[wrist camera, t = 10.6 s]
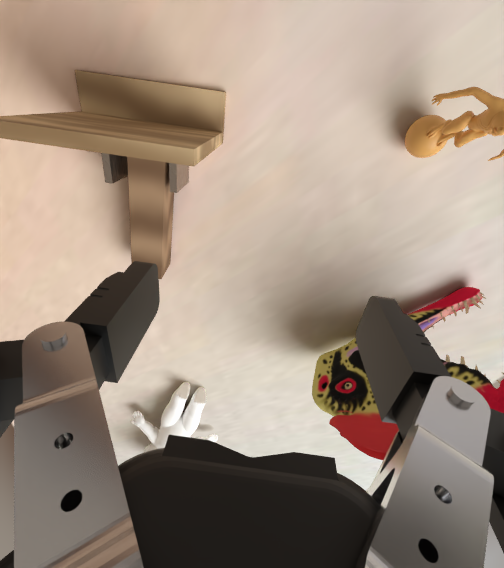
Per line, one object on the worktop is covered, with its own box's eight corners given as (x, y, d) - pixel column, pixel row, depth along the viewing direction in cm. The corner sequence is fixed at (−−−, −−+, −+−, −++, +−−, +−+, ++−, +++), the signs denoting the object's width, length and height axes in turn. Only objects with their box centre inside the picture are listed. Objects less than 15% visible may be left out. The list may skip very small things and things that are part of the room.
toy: (480, 301, 43) (613, 433, 26) (320, 370, 53) (340, 496, 36) (464, 266, 40) (601, 387, 23) (298, 345, 50) (309, 470, 33)
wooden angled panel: (77, 70, 31) (-44, 52, 19) (225, 92, 31) (195, 87, 19) (86, 123, 34) (-16, 135, 22) (222, 143, 34) (193, 166, 22)
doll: (238, 423, 54) (189, 508, 66) (241, 386, 62) (197, 467, 74) (136, 392, 51) (104, 486, 63) (153, 357, 59) (122, 446, 71)
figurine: (377, 127, 32) (424, 140, 22) (424, 71, 29) (502, 56, 19) (428, 173, 34) (492, 204, 24) (476, 125, 31) (571, 137, 21)
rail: (141, 141, 34) (127, 149, 30) (176, 150, 34) (165, 158, 31) (143, 257, 43) (132, 272, 40) (170, 263, 43) (161, 279, 40)
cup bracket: (188, 182, 37) (171, 197, 31) (125, 172, 37) (96, 186, 31) (188, 138, 34) (170, 146, 28) (120, 128, 34) (87, 134, 28)
